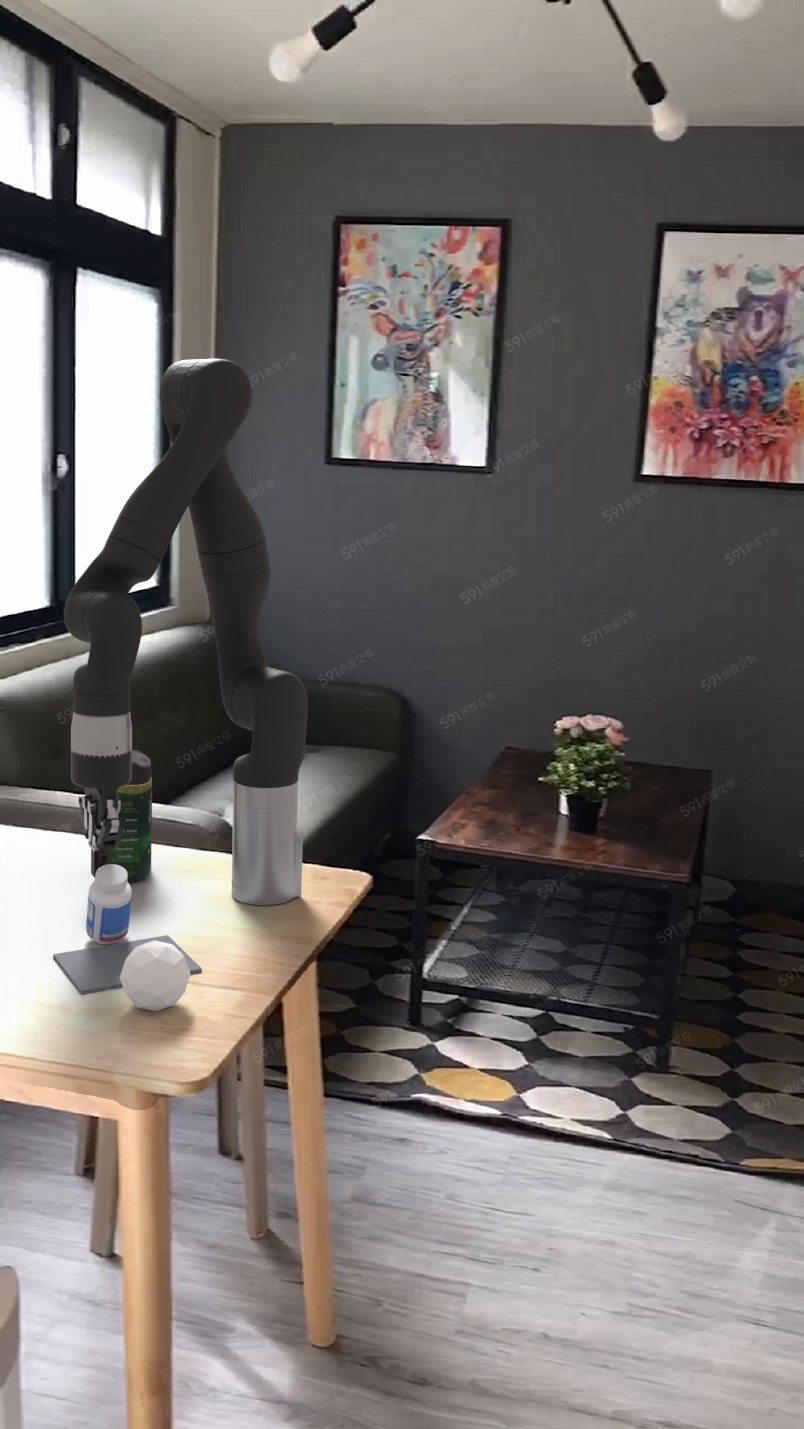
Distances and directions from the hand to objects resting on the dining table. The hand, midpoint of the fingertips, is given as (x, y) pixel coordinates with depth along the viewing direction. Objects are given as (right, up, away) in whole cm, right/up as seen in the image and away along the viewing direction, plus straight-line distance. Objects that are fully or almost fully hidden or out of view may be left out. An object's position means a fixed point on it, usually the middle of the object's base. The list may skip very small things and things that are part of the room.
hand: (100, 876), depth 163 cm
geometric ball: (+11, -13, -18) cm, 24 cm away
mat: (+5, -10, -7) cm, 13 cm away
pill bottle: (0, -7, +1) cm, 8 cm away
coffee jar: (-3, -3, +26) cm, 26 cm away
